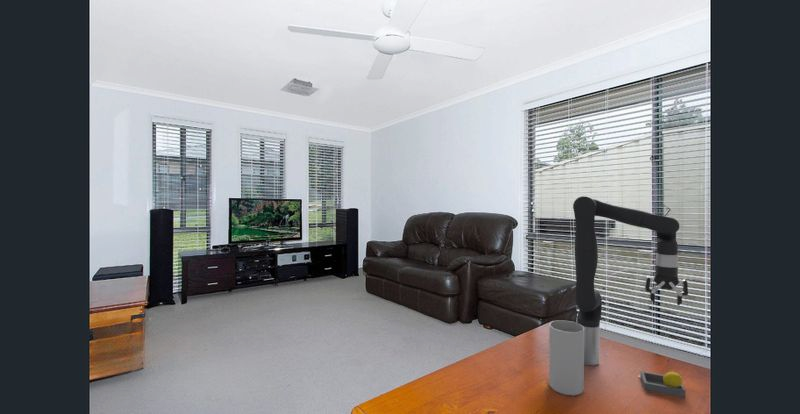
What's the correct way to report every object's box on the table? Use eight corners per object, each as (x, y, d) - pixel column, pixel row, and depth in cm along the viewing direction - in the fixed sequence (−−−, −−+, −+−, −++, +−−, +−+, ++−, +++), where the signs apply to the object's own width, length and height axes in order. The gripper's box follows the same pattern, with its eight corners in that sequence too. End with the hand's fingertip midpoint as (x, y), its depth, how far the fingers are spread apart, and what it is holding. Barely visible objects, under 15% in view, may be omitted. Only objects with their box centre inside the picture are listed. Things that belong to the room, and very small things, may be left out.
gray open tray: (644, 390, 145) (644, 382, 145) (640, 378, 154) (640, 371, 154) (685, 398, 139) (685, 390, 139) (678, 385, 148) (679, 377, 148)
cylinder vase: (568, 400, 139) (569, 334, 138) (542, 384, 150) (542, 323, 149) (590, 391, 145) (591, 328, 143) (563, 376, 156) (563, 318, 155)
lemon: (675, 394, 143) (687, 385, 138) (659, 388, 145) (671, 379, 140) (673, 381, 147) (685, 372, 142) (658, 375, 149) (669, 366, 143)
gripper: (647, 265, 153) (646, 303, 154) (690, 268, 147) (689, 308, 148) (644, 261, 160) (644, 298, 161) (686, 264, 153) (684, 302, 154)
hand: (665, 303), depth 154 cm, fingers open, 8 cm apart
